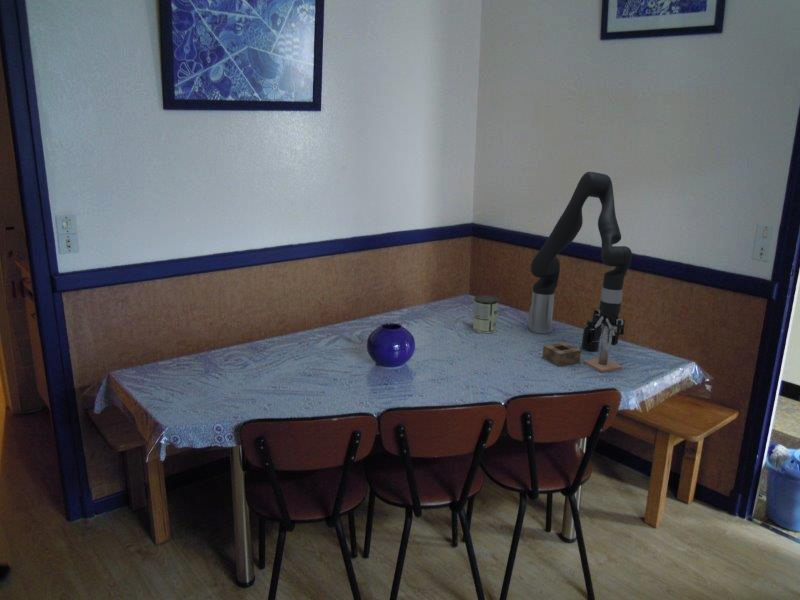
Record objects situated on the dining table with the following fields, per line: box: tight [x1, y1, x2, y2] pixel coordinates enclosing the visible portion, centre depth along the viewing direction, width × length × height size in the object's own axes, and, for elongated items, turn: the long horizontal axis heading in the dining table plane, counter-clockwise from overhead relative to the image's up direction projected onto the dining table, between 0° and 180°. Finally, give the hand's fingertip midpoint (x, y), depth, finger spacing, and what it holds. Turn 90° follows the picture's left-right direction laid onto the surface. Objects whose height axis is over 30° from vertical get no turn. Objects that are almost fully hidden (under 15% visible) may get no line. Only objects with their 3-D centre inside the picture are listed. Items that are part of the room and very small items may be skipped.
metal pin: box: [598, 325, 613, 365], centre depth 259 cm, size 3×3×16 cm
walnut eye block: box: [542, 341, 582, 367], centre depth 265 cm, size 10×10×5 cm
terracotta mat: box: [583, 357, 623, 374], centre depth 261 cm, size 10×10×1 cm
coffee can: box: [472, 294, 500, 334], centre depth 295 cm, size 10×10×14 cm
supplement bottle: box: [581, 318, 601, 353], centre depth 276 cm, size 7×7×12 cm
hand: (605, 340), depth 258 cm, fingers open, 8 cm apart
